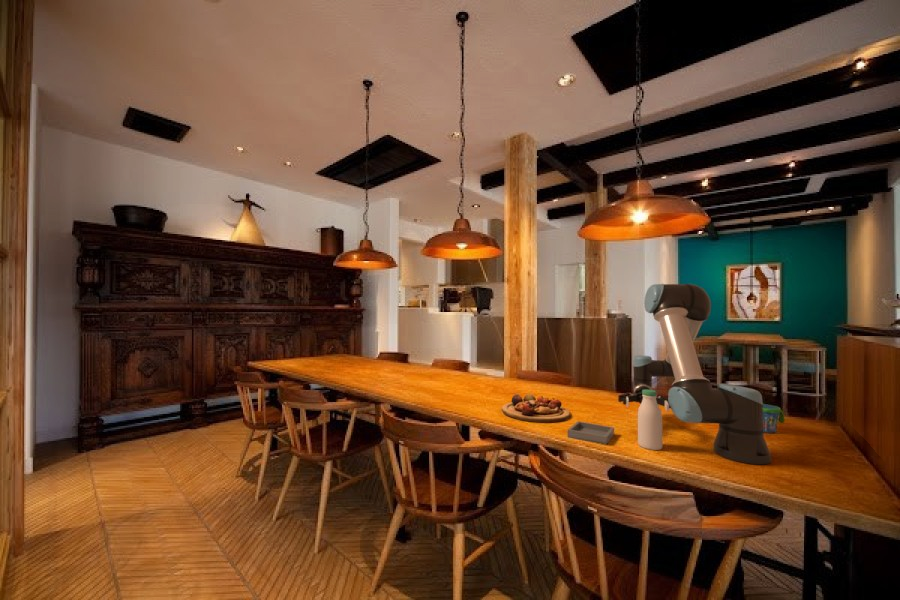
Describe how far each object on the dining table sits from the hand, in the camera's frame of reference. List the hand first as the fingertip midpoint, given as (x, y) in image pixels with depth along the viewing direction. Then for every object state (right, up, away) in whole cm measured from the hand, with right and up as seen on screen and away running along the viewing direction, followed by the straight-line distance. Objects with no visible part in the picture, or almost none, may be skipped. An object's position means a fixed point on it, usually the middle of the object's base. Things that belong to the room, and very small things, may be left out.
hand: (647, 406), depth 138 cm
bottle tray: (-21, -12, +1) cm, 24 cm away
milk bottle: (-4, -12, -10) cm, 16 cm away
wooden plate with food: (-35, -14, +33) cm, 50 cm away
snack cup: (+53, -13, +10) cm, 56 cm away
